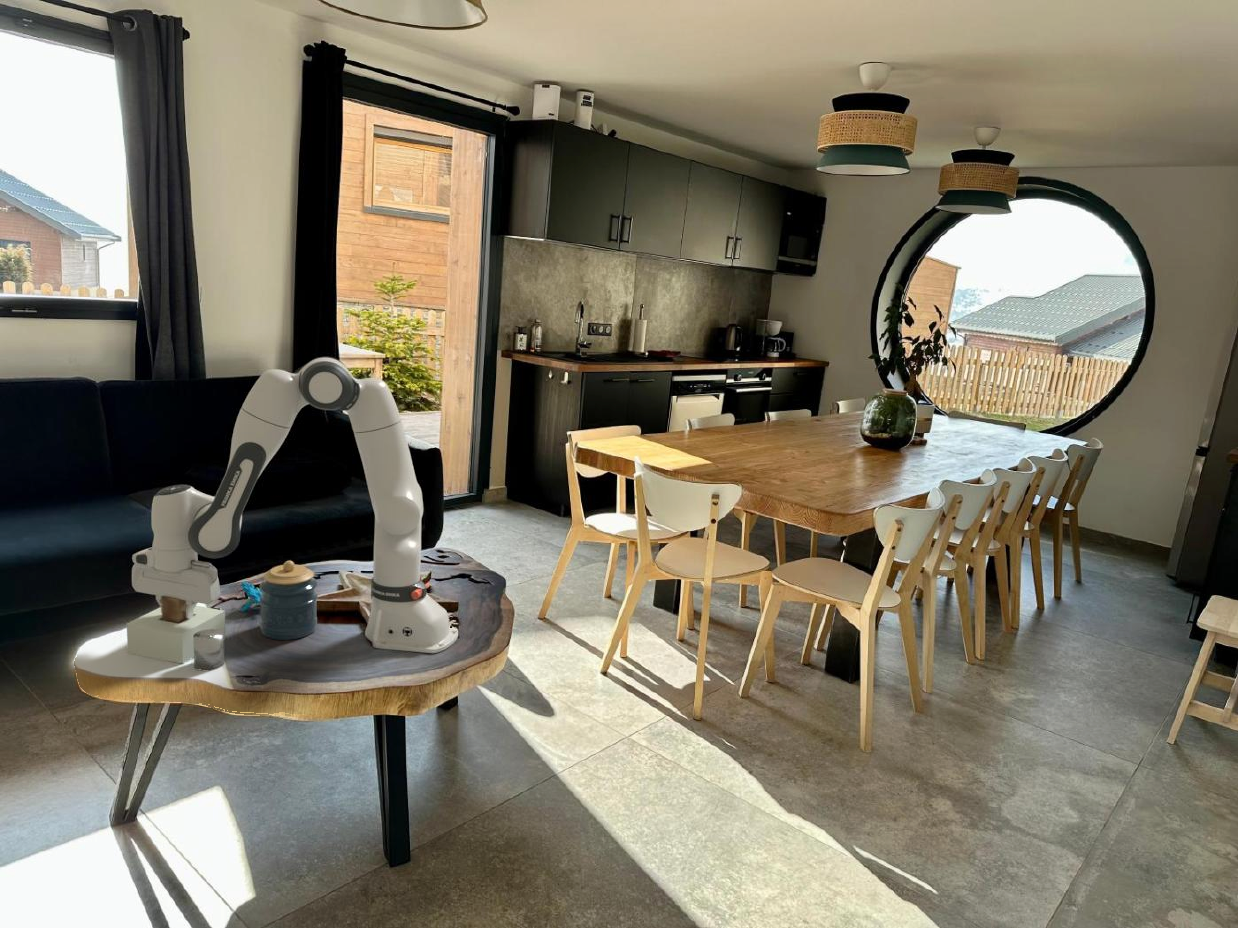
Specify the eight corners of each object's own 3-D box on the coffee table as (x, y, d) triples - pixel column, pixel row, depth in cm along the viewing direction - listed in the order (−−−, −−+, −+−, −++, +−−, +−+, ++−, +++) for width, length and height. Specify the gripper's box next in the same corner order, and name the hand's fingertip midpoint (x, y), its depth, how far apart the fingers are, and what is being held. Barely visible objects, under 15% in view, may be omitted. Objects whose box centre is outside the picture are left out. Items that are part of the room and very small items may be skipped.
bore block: (225, 638, 197) (224, 610, 196) (183, 663, 184) (182, 634, 182) (173, 628, 200) (172, 601, 198) (127, 652, 186) (126, 623, 185)
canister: (303, 614, 214) (303, 548, 210) (326, 632, 205) (327, 564, 201) (251, 626, 205) (250, 557, 201) (273, 645, 196) (272, 574, 192)
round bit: (230, 660, 187) (229, 631, 186) (212, 672, 181) (211, 642, 180) (206, 656, 188) (205, 627, 187) (187, 667, 182) (187, 637, 181)
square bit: (192, 633, 193) (191, 593, 191) (179, 641, 189) (178, 599, 187) (176, 630, 194) (175, 590, 192) (163, 638, 190) (161, 596, 188)
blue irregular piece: (274, 611, 210) (243, 584, 207) (256, 628, 209) (225, 602, 206) (276, 600, 221) (246, 575, 218) (259, 616, 220) (229, 591, 217)
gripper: (226, 559, 188) (227, 617, 191) (147, 546, 192) (149, 602, 195) (206, 568, 182) (208, 627, 185) (125, 554, 186) (128, 612, 189)
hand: (177, 614), depth 190 cm, fingers closed on square bit, 4 cm apart
